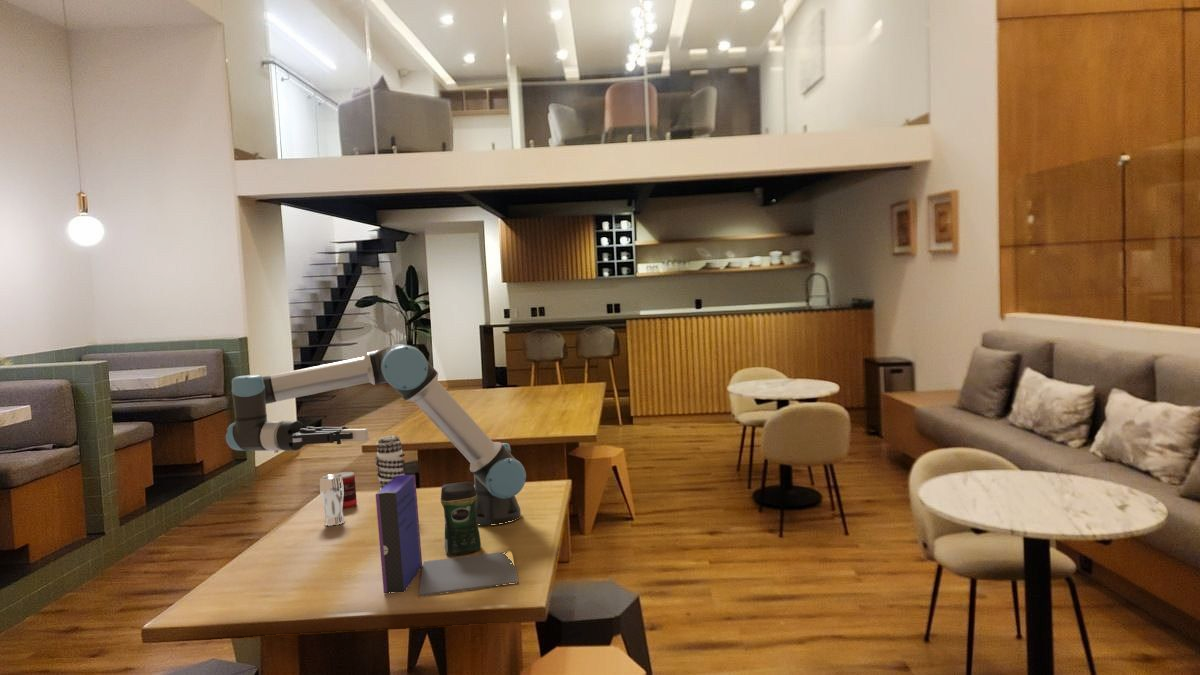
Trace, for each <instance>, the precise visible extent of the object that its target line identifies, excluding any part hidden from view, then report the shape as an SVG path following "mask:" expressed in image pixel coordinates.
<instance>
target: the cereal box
mask: <svg viewBox="0 0 1200 675" xmlns="http://www.w3.org/2000/svg"><path fill="white" fill-rule="evenodd" d="M416 481H417V480H416V475H415V474H405V475H399V476H396V477H395V478H393V479H392V480H391V481H390V482H389V483H388V484H387V485H386V486H384V487H383V488H382V489H381V490H380V489H379V490H378V491H377V492H376V493H375V502H376V503H375V504H376V517H377V525H378V529H377V530H378V537H379V538H378V540H379V550H380V553H379V554H380V562H381V564H380V566H381V573H382V574H381V575H382V585H383V588H382V589H383V594H384V593H388V594H392V593H391V592H404V591H405V592H406V591H407V589H408V588H409V586H410V585H411V583H412V582H411V581H413V580H414V579H415V577H416V576H417V574H418V573H419V571H420V570H421V568H422V567H423V558H422V557H423V555H422V547H421V546H422V545H421V532H420V521H419V510H418V507H419V506H418V496H417V495H418V494H417V493H418V492H417V485H416ZM421 566H422V567H421ZM419 569H420V570H419ZM417 572H418V573H417ZM415 575H416V576H415ZM413 578H414V579H413ZM409 584H410V585H409ZM408 585H409V586H408ZM406 588H407V589H406ZM389 592H390V593H389ZM405 592H404V593H405Z"/></svg>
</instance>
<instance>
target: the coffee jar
mask: <svg viewBox="0 0 1200 675" xmlns="http://www.w3.org/2000/svg"><path fill="white" fill-rule="evenodd" d="M440 492H441V494H440V503H441V506H442V507H443V513H444V550H445V553H446V554H449V555H450V556H454V555H455V556H456V554H458V555H464V553H465V554H469V553H473V552H475V553H476V552H477V551H478V550H479V549H481V546H482V541H481V537H480V536H481V535H480V531H479V525H477V519H476V512H475V502H476V498H477V496H476V491H475V485H474V481H471V480H470V481H469V480H468V481H460V482H454V483H452V482H451V483H446V484H445V483H444V484H443V485H442V486H441V491H440Z"/></svg>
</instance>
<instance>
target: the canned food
mask: <svg viewBox="0 0 1200 675" xmlns="http://www.w3.org/2000/svg"><path fill="white" fill-rule="evenodd" d="M335 474H341V475H342V480H343V487H344V498H343V510H346V509H345V508H347V509H351V508H354V507H356V506H357V502H358V501H357V489H356V477H355V472H352V471H343V472H336V473H335ZM353 506H354V507H353ZM350 507H351V508H350Z"/></svg>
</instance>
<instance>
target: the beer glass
mask: <svg viewBox="0 0 1200 675" xmlns="http://www.w3.org/2000/svg"><path fill="white" fill-rule="evenodd" d="M319 492H320V499H321V502H322V506H323V509H324V514H325V516H324V526H326V527H334V526H333V525H336V526H340V525H343V524H344V523H346V519H345V516H344V515H345V514H344V511H343V510H344V509H343V498H344V487H343V480H342V475H341V474H336V473H332V474H331V473H330V474H326V475H322V476H321V477H319ZM342 523H343V524H342ZM339 524H340V525H339ZM327 525H328V526H327Z"/></svg>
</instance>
